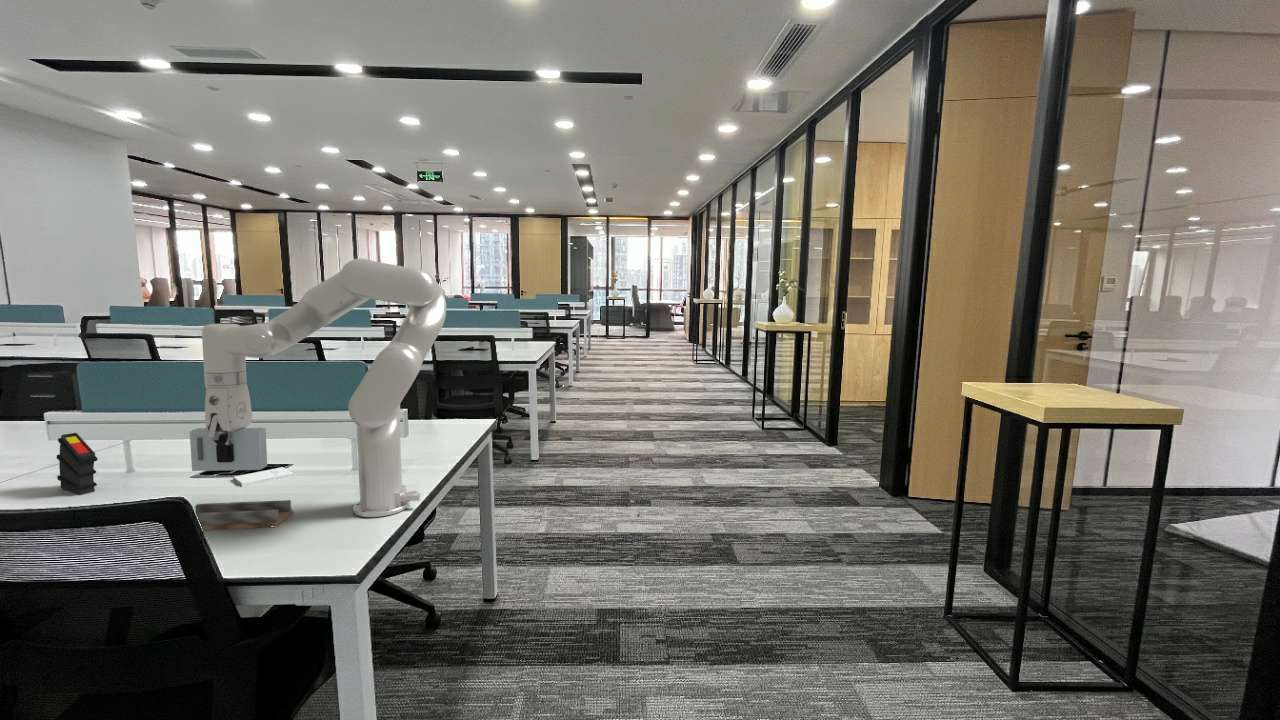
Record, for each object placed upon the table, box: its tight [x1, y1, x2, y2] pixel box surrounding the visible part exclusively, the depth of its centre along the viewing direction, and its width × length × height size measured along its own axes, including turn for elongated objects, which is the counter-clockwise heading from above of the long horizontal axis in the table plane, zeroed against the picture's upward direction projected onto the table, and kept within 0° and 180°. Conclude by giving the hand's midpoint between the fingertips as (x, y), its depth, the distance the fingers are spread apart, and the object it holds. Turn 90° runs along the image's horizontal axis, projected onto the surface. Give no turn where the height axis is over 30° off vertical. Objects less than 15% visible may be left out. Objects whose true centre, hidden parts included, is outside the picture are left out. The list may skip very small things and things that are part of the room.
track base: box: [194, 499, 294, 531], centre depth 128 cm, size 20×8×4 cm, turn 98°
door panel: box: [189, 427, 268, 472], centre depth 126 cm, size 14×3×9 cm, turn 98°
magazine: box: [56, 432, 98, 495], centre depth 147 cm, size 4×13×15 cm, turn 65°
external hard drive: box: [232, 466, 294, 487], centre depth 159 cm, size 2×8×12 cm
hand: (230, 458), depth 126 cm, fingers closed on door panel, 3 cm apart
